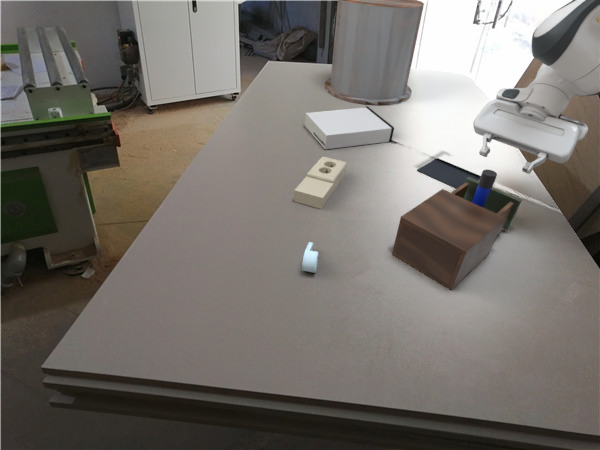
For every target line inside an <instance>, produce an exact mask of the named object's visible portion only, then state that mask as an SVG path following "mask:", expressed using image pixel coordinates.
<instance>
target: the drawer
mask: <svg viewBox="0 0 600 450" xmlns="http://www.w3.org/2000/svg"><path fill="white" fill-rule="evenodd" d="M478 183H479V181H477V180H475V179H473V178H470V177H468V178H466V180H465V183H464V184H463V185H461V186H460V187H459V188H457V189H456V188H455V189H454V190H453V191H451V192H450V193H452V194H454V195H457V196H459V197H461V198H463V199H465V200H468V201H470V202H472V200H473V198H474V195H475V192H476V190H477V187H478ZM522 202H523V199H522V198H520V197H517V196H516V195H513V194H511V193H508V192H505V191H503V190H501V189H499V188H496V187H494V186H493V187H492V188H491V190H490V193H489V196H488V198H487V201H486V203H485V206H484V208H485V209H487V210H489V211H491V212H494V213H496V214H498V215H500V216H502V217H504V220H503V222H502V224H501V226H500V229H499V231H498V233H497V235H499V234H500V233H501V232H502V231H503V230H504V231H508V230H509V229H510V228H511V225H512V223H513V221H514V219H515V217H516V214H517V212H518V210H519V208H520V206H521V204H522Z"/></svg>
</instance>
